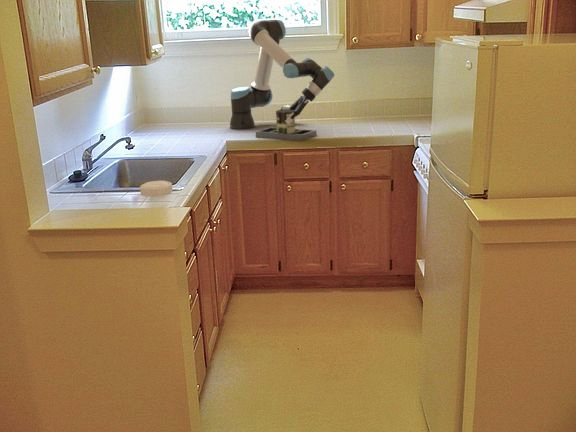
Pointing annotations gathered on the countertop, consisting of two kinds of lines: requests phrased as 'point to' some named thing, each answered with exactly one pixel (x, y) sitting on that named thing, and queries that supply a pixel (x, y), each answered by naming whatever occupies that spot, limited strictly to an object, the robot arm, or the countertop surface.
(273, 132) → the gray compartment tray
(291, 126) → the coffee can
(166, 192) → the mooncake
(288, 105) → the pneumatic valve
